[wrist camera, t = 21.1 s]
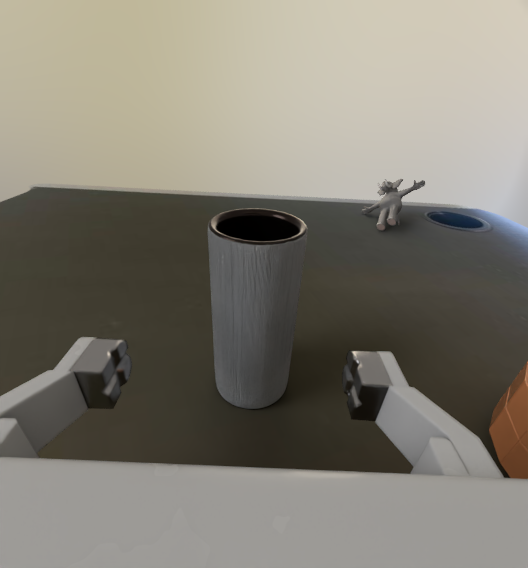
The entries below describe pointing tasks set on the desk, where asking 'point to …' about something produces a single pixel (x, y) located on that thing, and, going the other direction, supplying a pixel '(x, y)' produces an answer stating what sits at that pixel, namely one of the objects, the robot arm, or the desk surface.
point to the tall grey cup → (254, 301)
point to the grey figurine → (391, 202)
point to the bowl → (512, 427)
